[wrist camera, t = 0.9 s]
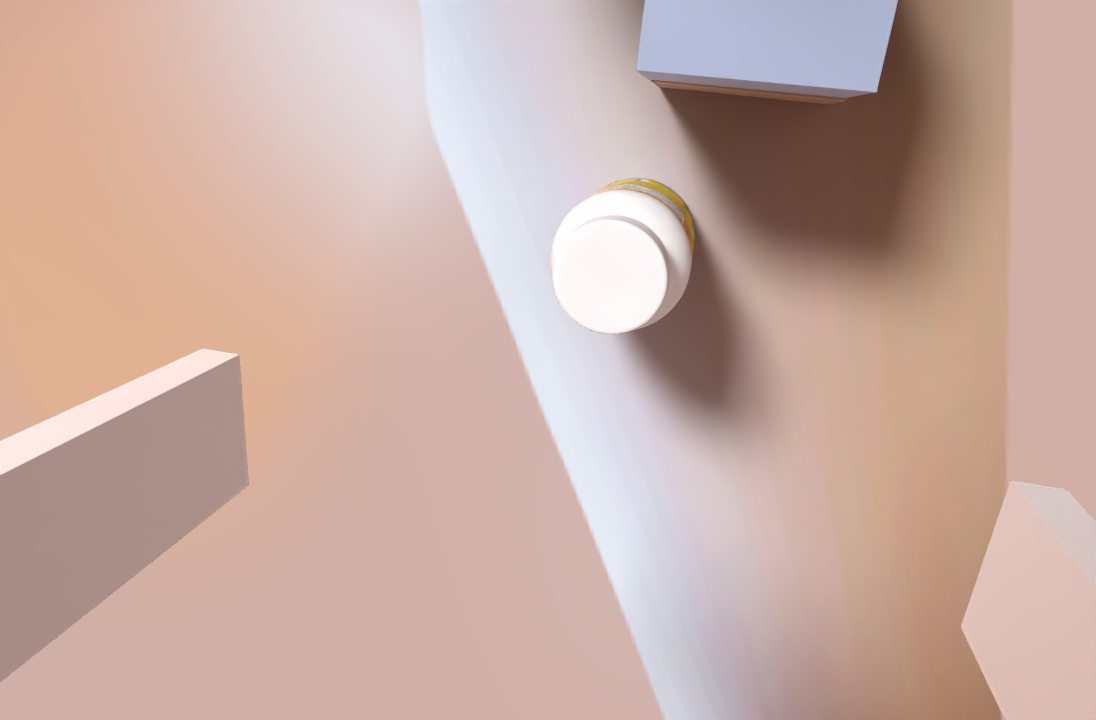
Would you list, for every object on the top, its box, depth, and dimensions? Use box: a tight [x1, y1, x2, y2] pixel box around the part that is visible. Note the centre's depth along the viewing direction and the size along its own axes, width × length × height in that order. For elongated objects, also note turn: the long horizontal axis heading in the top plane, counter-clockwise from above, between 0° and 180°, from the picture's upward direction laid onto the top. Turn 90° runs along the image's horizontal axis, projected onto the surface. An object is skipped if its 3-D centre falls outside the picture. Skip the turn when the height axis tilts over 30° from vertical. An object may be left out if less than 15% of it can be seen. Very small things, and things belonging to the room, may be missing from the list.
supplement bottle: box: [551, 177, 695, 334], centre depth 29 cm, size 5×5×10 cm
